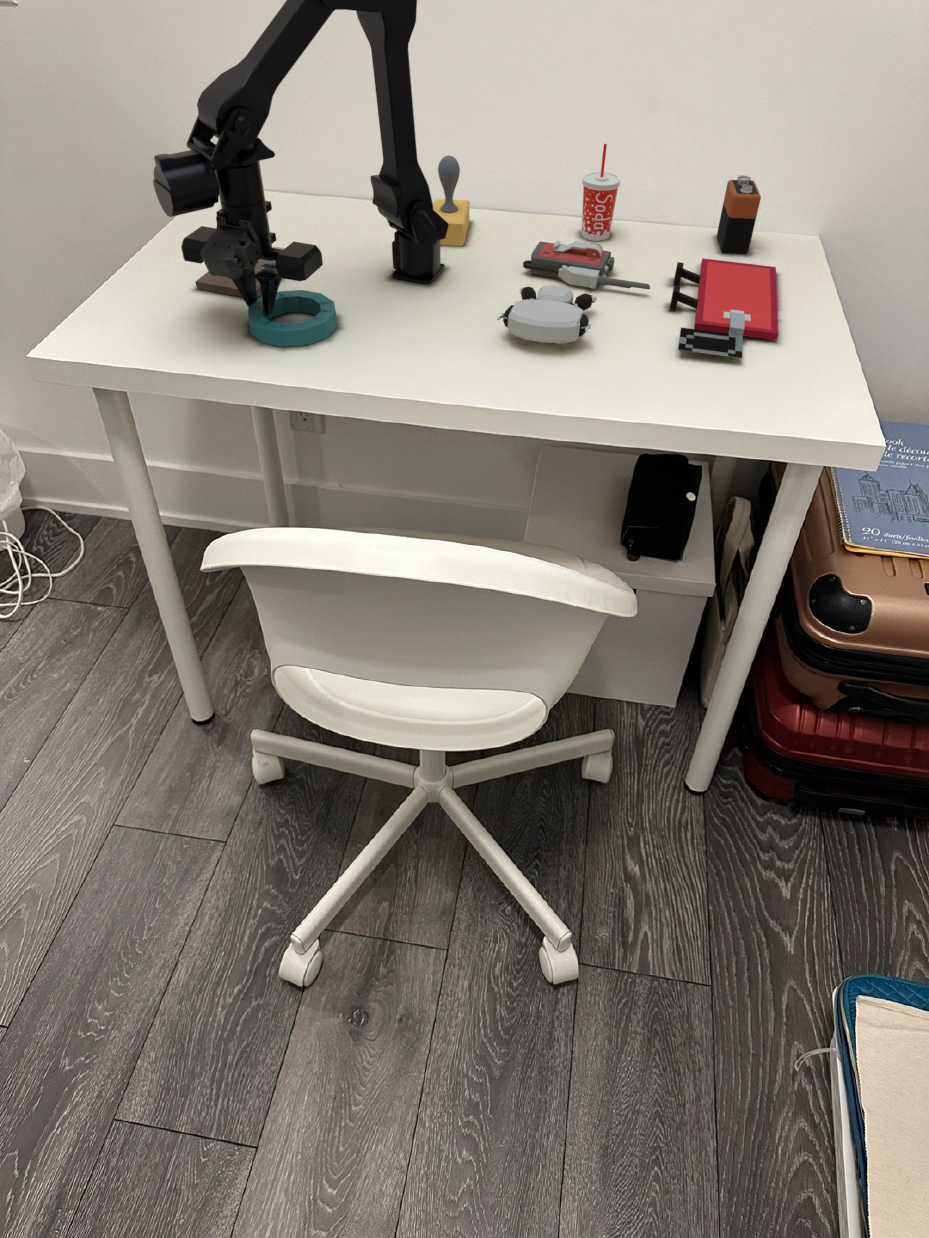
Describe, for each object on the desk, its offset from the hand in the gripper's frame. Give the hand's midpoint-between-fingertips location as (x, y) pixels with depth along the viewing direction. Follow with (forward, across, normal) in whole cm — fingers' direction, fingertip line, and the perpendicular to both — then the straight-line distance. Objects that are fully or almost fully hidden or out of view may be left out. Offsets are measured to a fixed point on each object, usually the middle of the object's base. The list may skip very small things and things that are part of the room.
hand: (261, 312), depth 127 cm
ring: (+1, +5, 0) cm, 5 cm away
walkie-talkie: (+1, +40, +30) cm, 50 cm away
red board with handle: (+1, +61, +26) cm, 66 cm away
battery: (+1, +59, +50) cm, 77 cm away
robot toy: (+1, +39, +12) cm, 41 cm away
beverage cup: (+1, +37, +46) cm, 59 cm away
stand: (+1, -9, +10) cm, 13 cm away
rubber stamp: (+1, +14, +38) cm, 41 cm away
